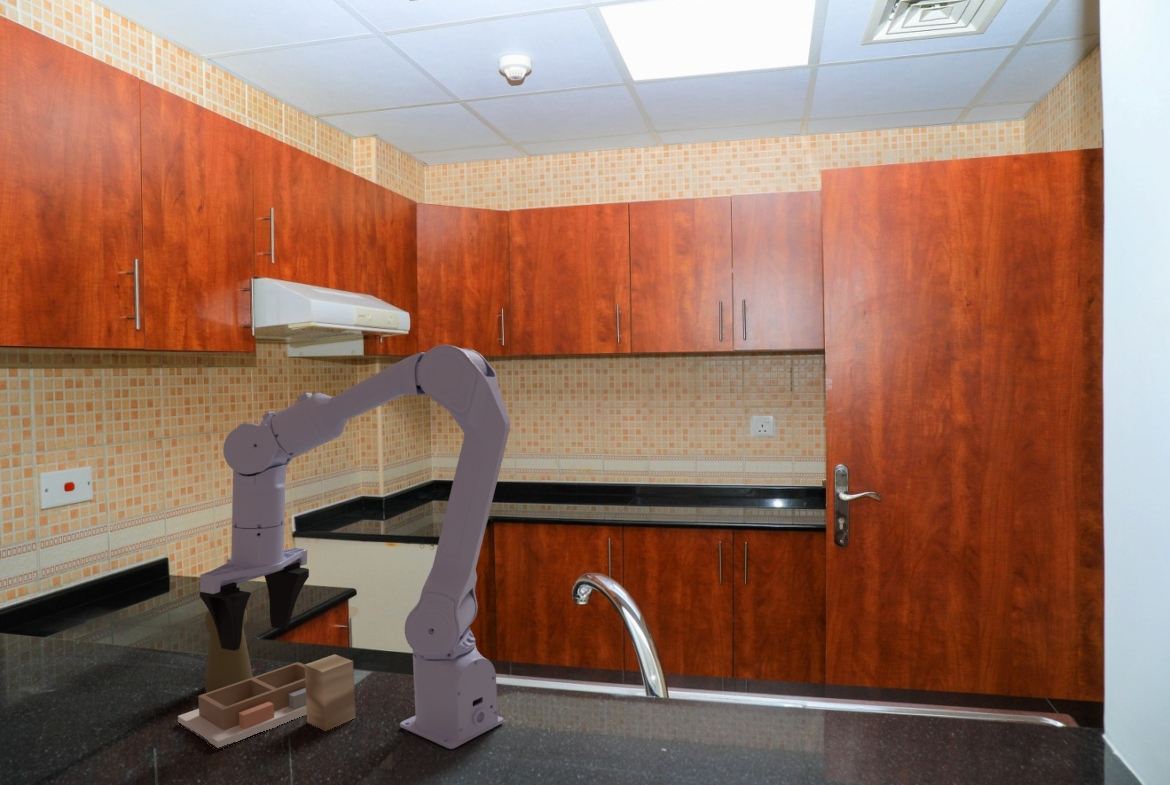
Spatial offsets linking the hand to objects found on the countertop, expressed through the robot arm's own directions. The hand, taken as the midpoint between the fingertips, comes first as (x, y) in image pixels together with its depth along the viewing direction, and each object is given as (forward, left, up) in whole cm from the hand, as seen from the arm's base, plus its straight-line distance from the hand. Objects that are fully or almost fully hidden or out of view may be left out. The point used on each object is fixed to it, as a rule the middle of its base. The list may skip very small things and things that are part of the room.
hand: (256, 637), depth 86 cm
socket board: (+3, -2, -11) cm, 11 cm away
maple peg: (-6, -6, -11) cm, 13 cm away
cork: (+15, -3, -11) cm, 19 cm away
